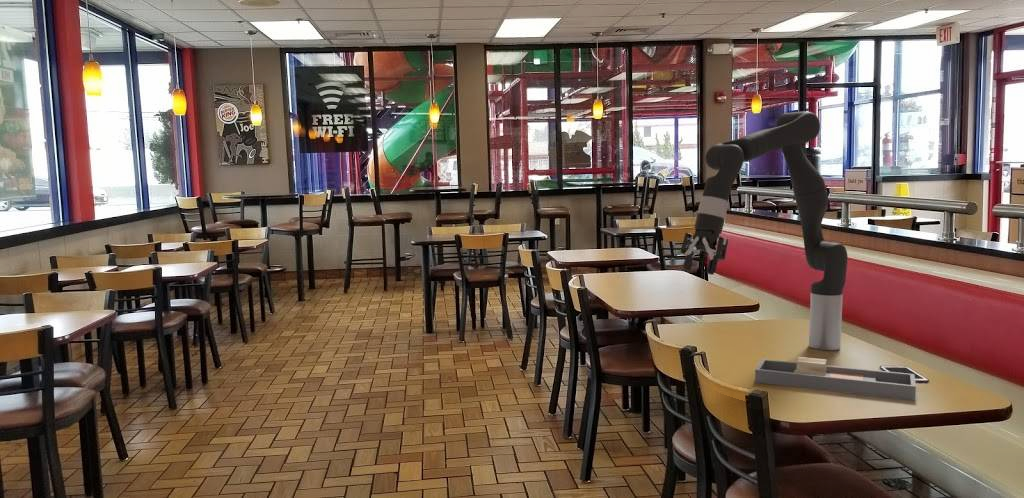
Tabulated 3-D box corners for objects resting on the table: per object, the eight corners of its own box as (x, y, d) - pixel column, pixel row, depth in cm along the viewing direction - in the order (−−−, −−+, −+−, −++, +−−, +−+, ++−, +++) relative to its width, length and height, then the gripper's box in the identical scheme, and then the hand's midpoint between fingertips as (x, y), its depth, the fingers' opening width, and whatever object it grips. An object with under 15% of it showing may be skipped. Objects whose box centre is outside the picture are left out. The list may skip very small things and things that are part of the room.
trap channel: (761, 371, 218) (761, 359, 218) (913, 387, 202) (914, 374, 201) (754, 382, 207) (755, 369, 207) (915, 400, 191) (915, 386, 191)
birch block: (798, 371, 210) (798, 356, 210) (825, 374, 207) (826, 359, 207) (796, 376, 206) (796, 361, 206) (824, 379, 203) (825, 364, 203)
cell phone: (900, 383, 206) (900, 380, 206) (878, 368, 221) (878, 365, 221) (930, 384, 206) (930, 380, 205) (906, 369, 220) (906, 365, 220)
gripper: (740, 220, 211) (726, 278, 210) (701, 216, 223) (688, 271, 222) (722, 213, 207) (708, 273, 206) (683, 210, 219) (670, 266, 218)
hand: (698, 272), depth 214 cm, fingers open, 8 cm apart
